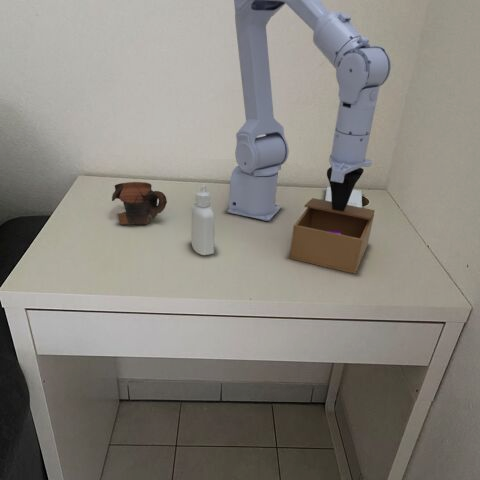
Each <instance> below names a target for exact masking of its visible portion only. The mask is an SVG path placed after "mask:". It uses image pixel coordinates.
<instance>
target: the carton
mask: <svg viewBox="0 0 480 480" xmlns="http://www.w3.org/2000/svg"><path fill="white" fill-rule="evenodd" d="M374 217H375V213H374V214H373V215H372V217H371V219H370V220H368V219H363V218H358V217H353V216H348V215H343V214H338V213H333V212H328V211H323V210H318V209H313V208H308V207H306V208H305V210H304V212H303V213H302V214H301V215H300V217H299V218H298V219H297V221H295V223H294V224H293V229H292V230H293V231H292V235H291V244H290V253H289V259H290V260H295V261H299V262H302V263H307V264H312V265H316V266H320V267H325V268H329V269H333V270H337V271H341V272H345V273H349V274H353V275H355V274H356V273H357V270H358V268H359V265H360V264H361V261H362V259H363V257H364V254H365V253H366V250H367V247H368V244H369V240H370V235H371V230H372V226H373V222H374ZM327 231H339V232H341V234H342V235H341V234H336V233H332V232H327Z"/></svg>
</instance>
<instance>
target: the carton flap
mask: <svg viewBox="0 0 480 480" xmlns="http://www.w3.org/2000/svg"><path fill="white" fill-rule="evenodd" d="M304 208H313V209H318V210H323V211H328V212H333V213H338V214H343V215H348V216H353V217H358V218H363V219H368V220H370V219H371V217H372V215H373V214H374V215H375V211H376V210H375V209H371V208H370V209H369V208H365V207H362V208H361V207H356V206H351V205H347V206H346V208H345V209H344V211H339V210H334V209H332V202H330V201H325V199H320V198H316V197H315V198H314V197H312V198H311V199H309V201H307V202H306V203H304Z"/></svg>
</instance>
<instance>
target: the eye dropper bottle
mask: <svg viewBox="0 0 480 480" xmlns="http://www.w3.org/2000/svg"><path fill="white" fill-rule="evenodd" d="M190 212H191V215H190V216H191V221H190V223H191V224H190V226H191V247H192V249H193V251H195V252H196V253H197V254H199V255H201V256H208V255H213V254H214V253H215V224H216V222H215V220H216V218H215V217H216V216H215V212H214V209H213V208H212V206H211V192H209V191H207V188H206V185H205V184H201V185H200V189H199V190H198V191H196V192H195V204H193V205H192V206H191V211H190Z"/></svg>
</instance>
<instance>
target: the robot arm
mask: <svg viewBox="0 0 480 480" xmlns="http://www.w3.org/2000/svg"><path fill="white" fill-rule="evenodd" d="M233 4H234V23H235V31H236V32H235V34H236V41H237V50H238V59H239V68H240V78H241V87H242V97H243V107H244V114H245V122H244V123H243V125H241V127H240V128H239V129H238V131H237V132H236V134H235V135H236V136H235V138H236V145H235V146H236V147H235V156H234V157H235V161H236V164H237V166H235V167H234V168H233V170H232V172H231V175H230V179H229V194H228V196H229V197H228V209H227V210H226V211H227V213H229V214H232V215H239V216H242V217H246V218H250V219H251V218H252V219H257V220H262V221H264V222H265V221H266V222H269V221H271V220H272V219H273V217H274V216H275V215H276V214H277V213H278V212H279V210H281V208H282V207H281V205H278V204H276V198H277V188H278V179H279V171H281V170H282V165H284V164H285V163H286V161H287V160H288V159H289V153H290V151H289V150H290V149H289V144H288V142H287V140H286V137H285V130H284V126H283V125H282V124H281V123H280V122H278V120H276V118H275V115H274V105H273V104H274V103H273V93H272V92H273V91H272V81H271V70H270V58H269V57H270V56H269V47H268V35H267V25H268V23H269V22H270V20H271V18H272V17H273V16H275V15H276V14H277V13H278V12H279V11H280V10H281V9H282V8H283V7H284V6H285V5H287V7H289V8H290V9H291V10H292V11H293V13H294V14H295V15H297V16H298V18H300V19H301V21H303V23H305V24H306V25H307V26H308V27H309V28H310V29H311V30H312V31H313V32H312V33H313V35H312V42H313V44H314V46H315V47H316V48H317V49H318V50H319V51H320V52H321V54H322V56H324V57H325V58H326V59H327V61H328V62H329V64H331V65H332V67H333V68H334V69H335V78H336V82H337V84H338V97H339V98H338V99H339V102H338V109H337V115H336V120H335V121H336V122H335V127H334V133H333V139H332V146H331V153H330V154H329V157H328V161H329V164H330V167H328V169H327V170H326V177H327V180H328V182H329V187H331V197H332V209H334V210H339V211H344V209H345V208H346V206H347V204H348V201H349V198H350V196H351V193H352V190H354V189H355V186H356V183H358V181H359V179H361V177H362V175H363V173H364V168H363V167H366V168H369V167H371V165H372V163H373V160H371V159H369V158H368V159H367V158H366V156H367V153H368V151H367V150H368V146H369V141H370V137H371V131H372V128H373V127H372V126H373V121H374V116H375V111H376V108H377V107H376V106H377V102H378V96H379V91H380V87H381V86H382V85H384V84H385V83H386V81H388V78H389V77H390V74H391V68H392V63H391V58H390V56H389V54H388V52H387V51H386V48H385V47H383V46H381V45H372V44H370V43H369V42H370V39H369V38H368V36H366V35H362V34H361V33H360V32H359V30H357V29H356V27H355V26H354V25H353V24H352V23H351V20H352V16H350V14H348V13H347V12H341V11H331V12H330V10H328V8H327V7H326V6H325V4H324V3H323V1H321V0H233Z"/></svg>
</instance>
